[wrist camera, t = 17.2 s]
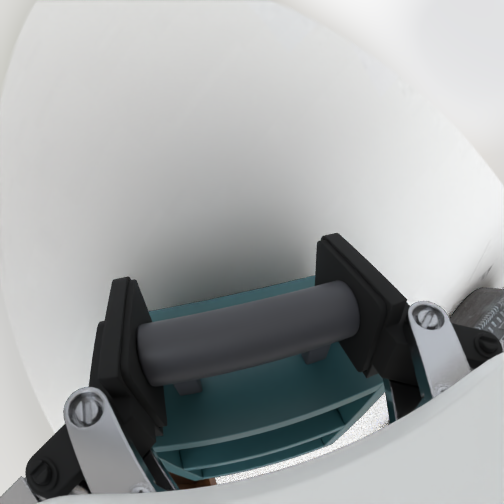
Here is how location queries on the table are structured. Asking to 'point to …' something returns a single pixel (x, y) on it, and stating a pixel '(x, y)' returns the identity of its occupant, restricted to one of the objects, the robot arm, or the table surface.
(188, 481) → the walnut shelf
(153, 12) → the table surface
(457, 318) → the planter
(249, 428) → the teal shelf
